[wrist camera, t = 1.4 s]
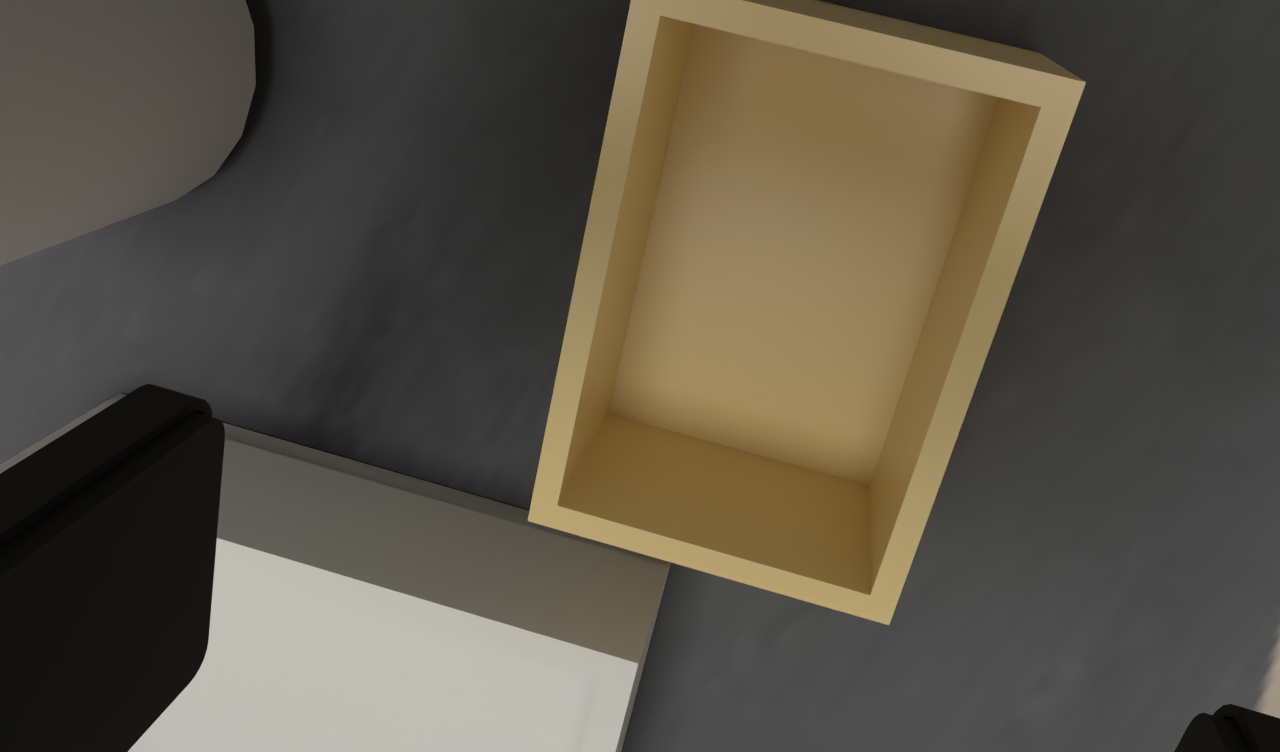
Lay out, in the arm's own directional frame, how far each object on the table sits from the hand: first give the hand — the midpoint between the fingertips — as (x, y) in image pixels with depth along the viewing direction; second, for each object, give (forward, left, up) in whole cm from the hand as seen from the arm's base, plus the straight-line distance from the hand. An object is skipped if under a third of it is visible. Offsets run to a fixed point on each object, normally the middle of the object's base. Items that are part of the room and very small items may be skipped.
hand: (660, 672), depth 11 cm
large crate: (+15, -8, -14) cm, 22 cm away
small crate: (0, 0, -14) cm, 14 cm away
